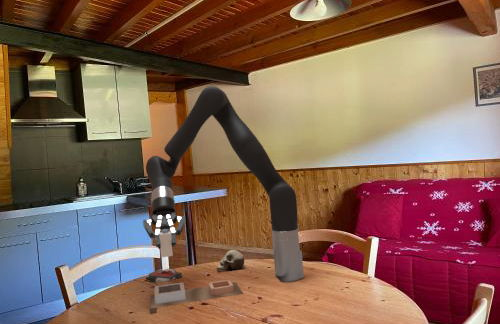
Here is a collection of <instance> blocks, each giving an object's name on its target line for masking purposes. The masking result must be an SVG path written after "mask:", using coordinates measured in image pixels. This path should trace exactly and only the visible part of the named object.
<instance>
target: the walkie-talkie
mask: <svg viewBox="0 0 500 324" xmlns="http://www.w3.org/2000/svg"><path fill="white" fill-rule="evenodd" d="M182 274H183V273H182V272H180V271H179V272H178V271H176V269H172V268H165V269H162V268H161V269H158V270H155V271H154V270H153V271H152V272H149V274H148V276H146V277H145V280H146V281H148V282H151V283H158V282H163V283H166V282H169V283H170V282H171V280H177V279H183V275H182Z"/></svg>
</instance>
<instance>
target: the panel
mask: <svg viewBox="0 0 500 324" xmlns="http://www.w3.org/2000/svg"><path fill="white" fill-rule="evenodd" d="M231 283H232V284H233V288H234V292H231V293H227V294H220V295H211V292H210V290H209V285H208V286H202V287H196V288H190V289H189V288H188V289H185V298H186V301H182V302H176V303H169V304H163V305H156V306H155V293H154V294H151V295H150V300H149V314H155V313H158V308H163V307H169V306H174V305H175V306H176V305H181V304H188V303H193V302H200V301H206V300H208V301H209V300H212V299H214V300H215V299H219V298H220V299H221V298H225V297H226V298H227V297H233V296H239V295H244V292H243V290H242V289H241V287H240V286H239V285H238V283H237V282H236V281H235V282H231Z"/></svg>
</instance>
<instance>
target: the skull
mask: <svg viewBox="0 0 500 324" xmlns="http://www.w3.org/2000/svg"><path fill="white" fill-rule="evenodd" d="M246 267H247V266H246V265H245V258H244V255H243V254H242V253H241V252H239V251H238V250H236V249H231V250H228V251H227V252H226V254H224V255H223V257H222V259H221V260H220V261H219V264H218V266H217V268H216V270H217V272H220V273H227V272H228V273H229V272H235V271H240V270H241V271H242V270H244V269H246Z"/></svg>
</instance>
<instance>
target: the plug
mask: <svg viewBox="0 0 500 324" xmlns="http://www.w3.org/2000/svg"><path fill="white" fill-rule="evenodd" d="M159 236H160V246H161V248H160V249H159V250H160V258H168V257H174V254H173V247H172V242H171V240H172V239H171V231H169V229H163V230H161V232H159Z"/></svg>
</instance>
